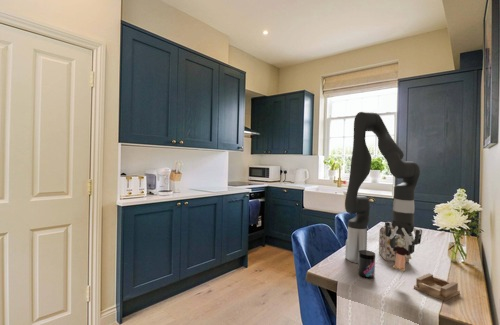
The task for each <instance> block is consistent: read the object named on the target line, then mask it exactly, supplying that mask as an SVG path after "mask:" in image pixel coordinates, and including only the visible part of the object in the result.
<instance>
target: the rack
mask: <svg viewBox="0 0 500 325" xmlns="http://www.w3.org/2000/svg"><path fill="white" fill-rule="evenodd" d="M413 289H415V290H416V291H417V290H418V291H420V292H422V293H425V294H426V295H429V296H431V297H434V298H437V299H439V300H442V301H444V302H446V301H449V300H450V299H452V298H454V297H455V296H457V295H459V294H460V293H461V292H460V290H459V288H458V283H457V282H456V281H451V282H450V281H449V280H448V281H447V280H446V279H442V278H439V277H437V276H434V274H432V273H426V274H423V275H421V276H419V277H416V284H415V285H414V286H413Z"/></svg>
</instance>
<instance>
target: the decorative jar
mask: <svg viewBox="0 0 500 325" xmlns="http://www.w3.org/2000/svg"><path fill="white" fill-rule="evenodd" d="M393 230H394V228H393V227H391V233H392V232H393ZM378 232H379V237H378V253H379V255H380V256H381V257H382V258H383V259H384V261H389V262H395V259H396V253H397V251H396V252H395V253H394V254H392V251H393V249H394V248H391V246H390V238H389V237H388V236H386V235H385V225H383V226H381V227H380V229H379V231H378ZM399 238H401V239H404V240H405V242H406V244H407V245H405V246H404V248H405V249H406V250H408V246H409V242H408V240H407V239H406V237H405V236H403V235H399V234H398V235H397V236H396V238H395V239H396V245H395V247H396V246H398V242H397V240H398V239H399ZM405 263H410V259H409V257H408V256H407V255H406V254H405Z"/></svg>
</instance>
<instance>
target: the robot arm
mask: <svg viewBox="0 0 500 325" xmlns="http://www.w3.org/2000/svg"><path fill="white" fill-rule="evenodd" d="M367 132H372V133H373V134H374V135H375V136H376V137H377V146H378V150H379V152H380V153H381V155H382V156H383V158H384V159H385V160H386V164H387V167H388V169H389V172H390V174H391V175H392V176H393V177H394V178H395V179H399V180H401V179H402V180H401V182H400V183H398V184H396V185H395V186H394V194H393V203H392V222H391V221H385V223H384V226H385V235H386V236H388V237H389V238H390V246H391V248H395V245H396V239H395V238H396V236H397V235H398V234H399V235H403V236H405V237H406V239H407V240H408V242H409V246H408V254H410V255H411V254H414V253H415V246H417V245H420V244H421V241H422V236H423V230H422V229H421V228H420V229H419V228H415V226H414V224H415V223H414V222H415V210H416V209H415V190H416V187H417V185H418V181H419V178H420V175H421V170H420V166H419V165H418V163H417V162H415V161H411V160H410V161H407V160H406V161H405V160H404V161H403V159H404V156H405V155H404V152H403V150H402V149H401V148H400V146H399V145H398V144H397V143H396V141H395V140H394V139H393V137H392V136H391V134H390V131H389V130H388V128H387V126H386V124H385V122H384V121H383V119H382V117H381V116H380V114H379V113H377V112H374V111H373V112H372V111H360V112H357V114H355V117H354V121H353V141H352V142H353V143H352V153H351V154H352V155H351V160H350V168H349V169H350V170H349V172H350V173H349V180H348V186H347V190H346V195H345V198H344V199H345V200H344V209H345V211H346V213H347V214H349V215H350V214H351V215H355V216H354V217H353V218H351V219H348V221H347V239H346V240H345V254H344V255H345V257H344V258H345V259H347V261H349V262H351V263H354V264H359V251H360V250H368V246H367V245H368V243H367V242H368V225H369V222H370V208H371V204H370V200H369V198H368V197H367V196H366V195H359V194H358V193H359V189H360V187H361V186H362V184H363V183H364V182H365V181H366V179H367V178H368V177H369V174H370V172H371V167H372V155H371V152H370V150H369V148H368V146H367V143H366V133H367ZM391 227H393V228H394V230H393V232H392V233H391ZM413 233H414V235H413Z"/></svg>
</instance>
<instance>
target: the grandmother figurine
mask: <svg viewBox="0 0 500 325" xmlns="http://www.w3.org/2000/svg"><path fill="white" fill-rule="evenodd" d="M397 242H398V246H396V247H395V248H394V249H393V251H392V254H394V253H395V252H396V251H397V253H396V259H395V261H394V265H393V266H392V268H393V269H396V270H397V269H398V270H399V271H401V272H404V271H406V262H405V254H406V255H407V256H408V257H409V260H412V256H411V254H408V250H406V249H405V248H404V246H405V245H407V244H406V242H405V240H404V239H401V238H399V239H398V240H397Z"/></svg>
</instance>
